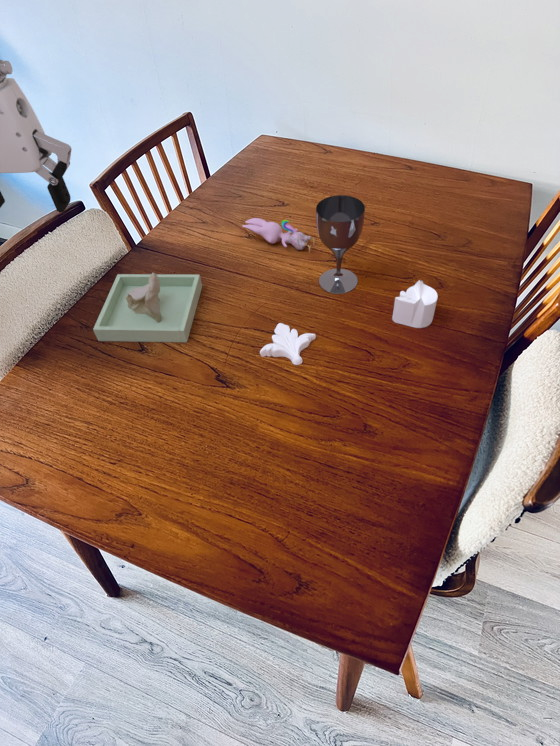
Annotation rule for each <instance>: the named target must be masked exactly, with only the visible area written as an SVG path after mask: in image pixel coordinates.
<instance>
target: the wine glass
mask: <svg viewBox="0 0 560 746" xmlns="http://www.w3.org/2000/svg"><path fill="white" fill-rule="evenodd" d="M365 218H366V206H365V204H364V202H363V201H362V200H361V199H358V198H357V197H355V196H351V195H345V194H339V195H338V194H337V195H332V196H328V197H325V198H323V199H321V200H320V201H319V202H318V203H317V204H316V206H315V221H316V224H315V225H316V230H317V233H318V234H317V235H318V236H319V239H320V242H321V243H322V244H323V245H324V246H325V247H326V248H327V249H328V250H330V251H331V252H332V253H333V255H334V257H335V266H336V268H332V269H328V270H326V271H324V272H323V273H322V274H321V275H320V276H319V279H318V285H319V286H320V288H321V289H323V290H324V291H326V292H328V293H330V294H336V295H337V294H338V295H339V294H346V293H349V292H352V291H353V290H354V289H355V288H356V287H357V285H358V283H359V281H358V277H357V275H356V274H355V273H354V272H353V271H351V270H348V269H345V268H342V262H343V258H344V255H345V253H346V252H348V251H349V250H350V249H351V248H353V247H354V246H355V245H356V244H357V243H358V241H359V239H360V237H361V235H362V232H363V228H364V225H365Z"/></svg>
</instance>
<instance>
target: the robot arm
mask: <svg viewBox="0 0 560 746" xmlns="http://www.w3.org/2000/svg"><path fill="white" fill-rule="evenodd" d="M11 74H13V66H12V64H11V62H10V60H3V59H0V174H26V173H36V174H37V175H38V176H39V177H41V178H42V179H44V180H45V181H46V182H48V184H47V186H46V188H47V191H48V193H49V195H50V198H51V200H52V202H53V204H54V207H55V210H56V212H58V213H64V212H65V211H66V209H67V208H68V206H69V204H70V203H71V194H70V192H69V189H68V187H67V183H66V181H65V179H64V175H65V174H66V171H67V170H68V168H69V167H70V165H71V156H72V146H71V145H70V144H68V143H66V142H63V141H62V140H59V139H56V138H54V137H52V136H50V135H47V134H46V133H45V130H44V128H43V127H42V125H41V122H40V120H39V118H38V116H37V114H36V112H35V111H34V109H33V106H32V105H31V103H30V101H29V100H28V98H27V96H26V95H25V93H24V91H23V90H22V88H21V87H20V85H19V83H17V81H16V80H15V78H13V77H7V75H11ZM52 154H55V156H56V157H57V160H56V161H57V162H56V161H55V160H53V159H52V158H51V157H50V156H52ZM5 203H6V199H5V197H4V196H3V193H2V191H1V190H0V209H1V208H2V207H3V205H4V204H5Z"/></svg>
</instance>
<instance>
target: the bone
mask: <svg viewBox="0 0 560 746" xmlns="http://www.w3.org/2000/svg"><path fill="white" fill-rule="evenodd" d="M150 274H151V276H150V277H149V278H148V279H149V281H148V284H147V285H145V286H143V287H142V288H139V287H135V288H133V290H131V291H129V292H128V294H127V295H128V296H127V297H126V300H127V302H128V307H129V308H130V309H132V310H133V311H135V314H147V315H149V316H150V317H152V318H153V319H154V320H155V321H156V322H157V323H159V322H160V321H161V312H160V306H159V301H160V299H158V293H159V292H160V283H159V279H158V276H157V275H156V274H157V273H155V272H153V271H152V272H151V273H150Z"/></svg>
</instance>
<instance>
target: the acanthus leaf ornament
mask: <svg viewBox="0 0 560 746" xmlns="http://www.w3.org/2000/svg"><path fill="white" fill-rule="evenodd" d="M273 331H274V334H272V335H271V341H272V343H267V344H264V346H263V347H262V348H261V349H260V350H259V355H260V357H262V358H264V357H269V358H270V357H273V358H278V357H280V358H281V357H283V358H287V359H289V360H290V361H291V364H293V365H294V366H301V365H302V363H303V362H304V361H303V358H302V356H301V355H300V354H301V352H302V351H303V350H305V349H306V348H308V347H309V346H310V344H311V343H312V341H314V340H315V339H317V334H316V333H310V332H306V333H303V334H301V335H299V332H298V330H297V329H296V328H292V329H291V328H290V326H289V325H288V324H285V323H283V322H279V323H278V324H276V327H275V328H274V330H273Z"/></svg>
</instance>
